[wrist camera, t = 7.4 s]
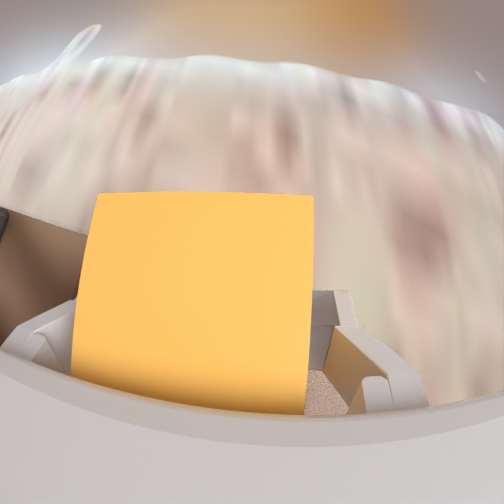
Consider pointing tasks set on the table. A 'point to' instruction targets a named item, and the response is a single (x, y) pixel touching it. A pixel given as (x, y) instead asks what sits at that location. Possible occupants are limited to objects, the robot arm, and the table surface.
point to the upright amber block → (198, 299)
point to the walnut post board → (35, 268)
